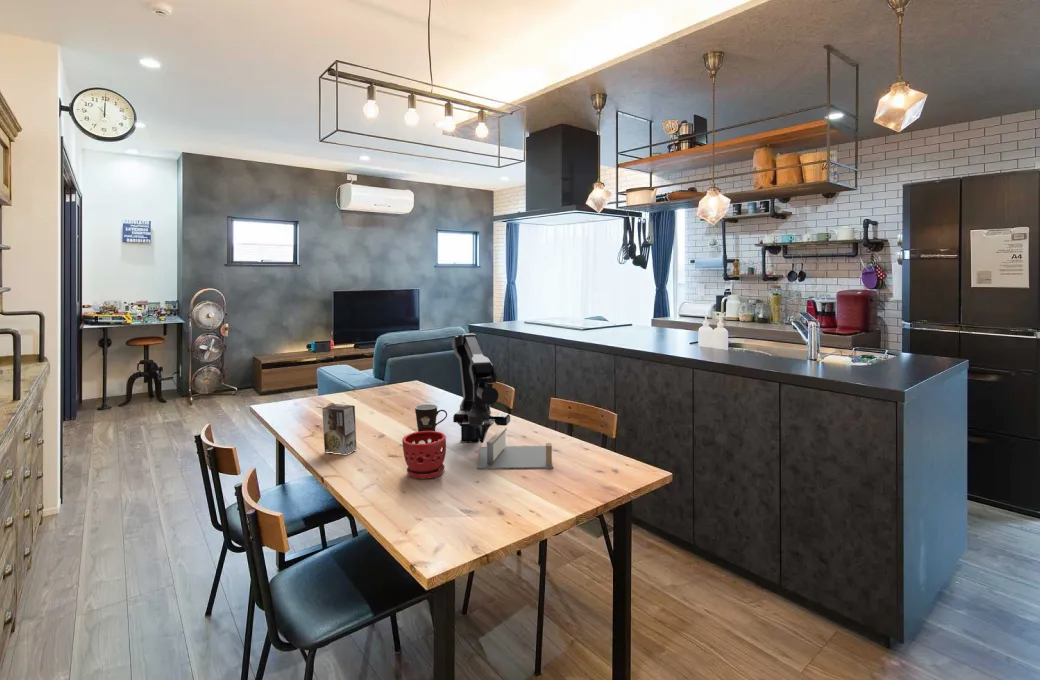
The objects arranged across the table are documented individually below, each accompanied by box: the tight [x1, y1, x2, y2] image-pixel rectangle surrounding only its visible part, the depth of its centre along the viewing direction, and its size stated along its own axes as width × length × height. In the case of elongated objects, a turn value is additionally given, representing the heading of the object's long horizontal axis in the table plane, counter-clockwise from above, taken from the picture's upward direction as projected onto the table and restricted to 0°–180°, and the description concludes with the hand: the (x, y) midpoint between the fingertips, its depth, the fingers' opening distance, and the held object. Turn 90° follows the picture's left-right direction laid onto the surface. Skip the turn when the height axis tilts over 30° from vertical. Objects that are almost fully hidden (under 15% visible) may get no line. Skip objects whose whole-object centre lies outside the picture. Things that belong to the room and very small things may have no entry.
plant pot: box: [402, 430, 447, 480], centre depth 170 cm, size 13×13×12 cm
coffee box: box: [321, 403, 357, 454], centre depth 191 cm, size 9×6×16 cm
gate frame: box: [477, 442, 554, 470], centre depth 185 cm, size 24×21×7 cm
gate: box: [486, 426, 508, 464], centre depth 185 cm, size 18×2×7 cm, turn 167°
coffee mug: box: [414, 403, 448, 432], centre depth 214 cm, size 12×9×10 cm
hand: (482, 442), depth 189 cm, fingers closed
